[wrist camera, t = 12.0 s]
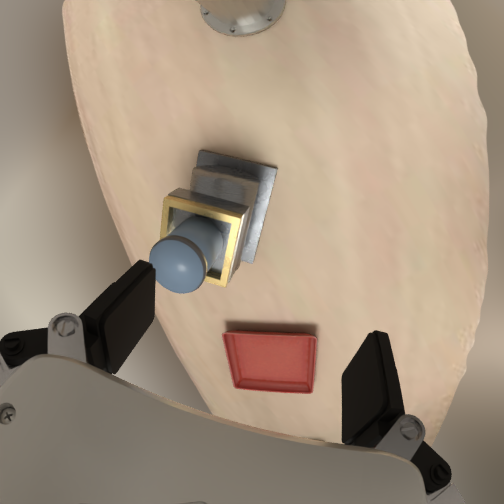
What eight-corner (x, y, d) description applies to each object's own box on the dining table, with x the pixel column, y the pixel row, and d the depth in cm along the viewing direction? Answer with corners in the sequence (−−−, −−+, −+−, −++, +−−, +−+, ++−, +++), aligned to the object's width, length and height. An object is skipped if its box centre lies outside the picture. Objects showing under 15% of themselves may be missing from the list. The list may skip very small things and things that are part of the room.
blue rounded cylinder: (178, 209, 33) (149, 232, 26) (228, 223, 32) (208, 250, 26) (173, 254, 35) (147, 283, 29) (219, 269, 35) (199, 302, 29)
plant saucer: (313, 383, 60) (313, 394, 57) (237, 379, 64) (233, 389, 61) (317, 324, 52) (317, 336, 49) (225, 321, 56) (220, 332, 53)
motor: (201, 149, 42) (155, 165, 29) (277, 168, 41) (262, 191, 28) (187, 241, 49) (147, 284, 37) (253, 260, 49) (232, 313, 36)
